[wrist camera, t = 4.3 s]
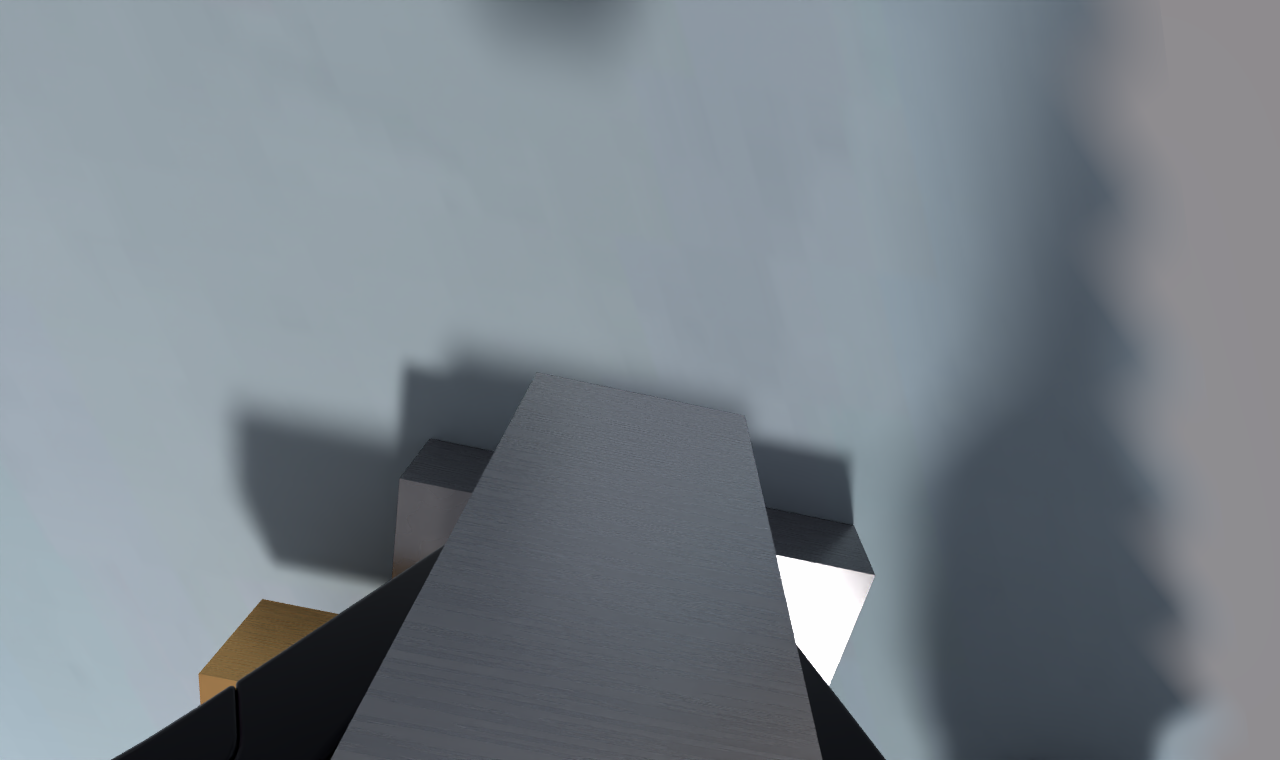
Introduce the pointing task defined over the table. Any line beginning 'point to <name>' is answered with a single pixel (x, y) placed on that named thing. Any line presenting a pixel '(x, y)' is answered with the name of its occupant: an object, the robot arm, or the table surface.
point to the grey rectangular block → (599, 600)
